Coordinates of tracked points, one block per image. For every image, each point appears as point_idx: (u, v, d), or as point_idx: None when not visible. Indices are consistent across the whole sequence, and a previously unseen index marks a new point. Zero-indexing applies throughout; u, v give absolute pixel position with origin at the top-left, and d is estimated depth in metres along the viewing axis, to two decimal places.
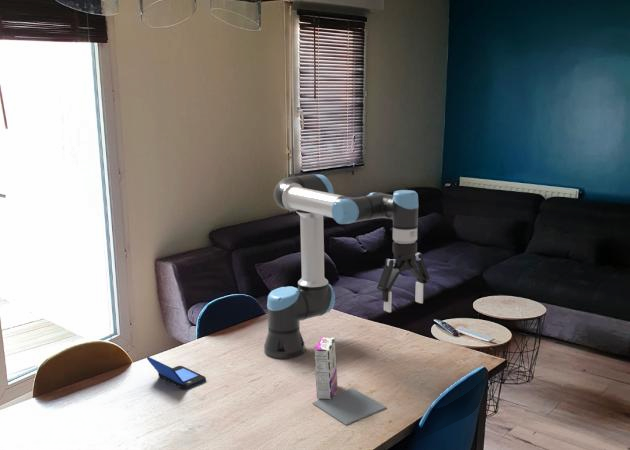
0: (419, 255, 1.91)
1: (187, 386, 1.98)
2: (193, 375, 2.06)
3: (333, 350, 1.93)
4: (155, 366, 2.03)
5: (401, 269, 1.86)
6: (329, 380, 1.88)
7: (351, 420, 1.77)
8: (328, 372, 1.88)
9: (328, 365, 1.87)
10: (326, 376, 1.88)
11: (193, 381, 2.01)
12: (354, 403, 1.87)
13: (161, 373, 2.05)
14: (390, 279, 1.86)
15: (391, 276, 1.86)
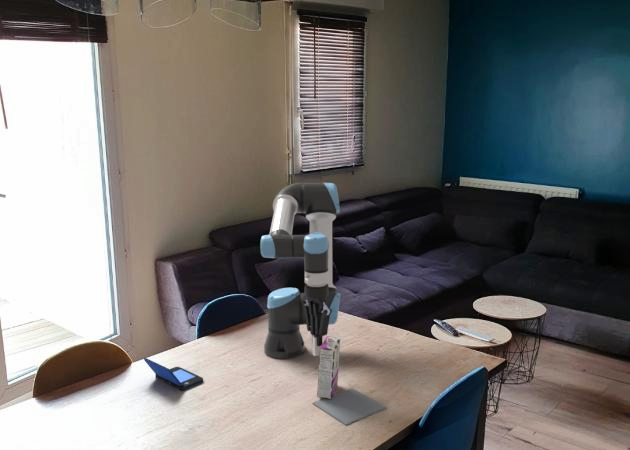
0: None
1: (184, 387, 1.98)
2: (190, 376, 2.05)
3: (338, 350, 1.93)
4: (152, 367, 2.02)
5: (310, 310, 1.93)
6: (331, 380, 1.88)
7: (351, 420, 1.77)
8: (331, 372, 1.88)
9: (332, 365, 1.87)
10: (329, 376, 1.88)
11: (190, 382, 2.00)
12: (354, 403, 1.87)
13: (158, 374, 2.04)
14: None
15: None
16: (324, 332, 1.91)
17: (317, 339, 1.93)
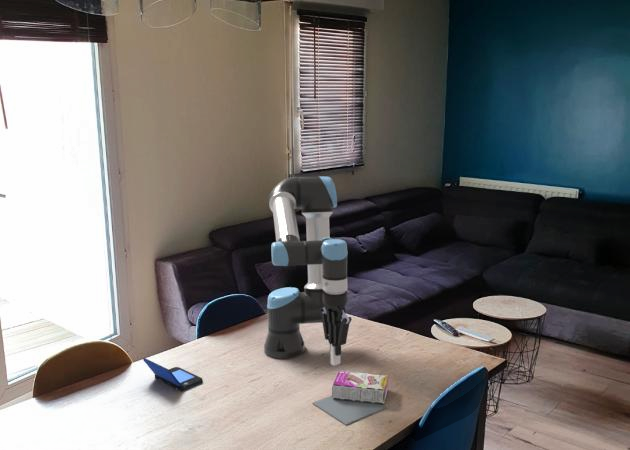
0: (344, 318, 1.81)
1: (184, 387, 1.97)
2: (190, 376, 2.05)
3: None
4: (151, 367, 2.02)
5: (328, 318, 1.86)
6: (352, 399, 1.88)
7: (351, 420, 1.77)
8: (360, 400, 1.87)
9: (368, 401, 1.87)
10: (356, 397, 1.88)
11: (190, 382, 2.00)
12: (354, 403, 1.87)
13: (157, 374, 2.04)
14: None
15: None
16: (343, 341, 1.84)
17: (335, 348, 1.86)
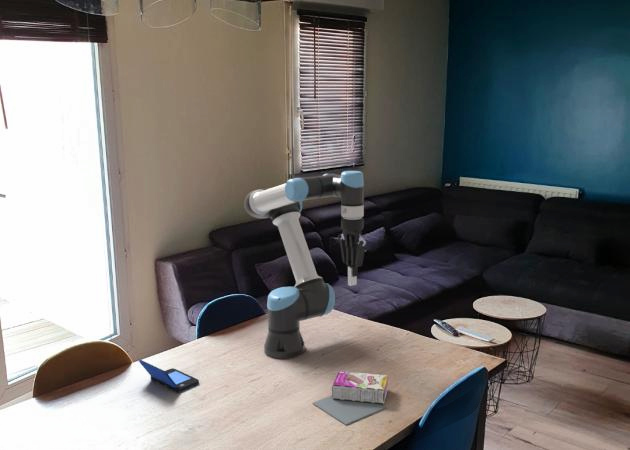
0: None
1: (180, 389, 1.96)
2: (186, 378, 2.04)
3: None
4: (147, 369, 2.01)
5: (346, 242, 2.06)
6: (352, 400, 1.88)
7: (351, 420, 1.77)
8: (360, 400, 1.87)
9: (368, 401, 1.87)
10: (356, 398, 1.88)
11: (186, 384, 1.99)
12: (354, 403, 1.87)
13: (153, 376, 2.03)
14: None
15: None
16: (359, 263, 2.04)
17: (353, 270, 2.07)
